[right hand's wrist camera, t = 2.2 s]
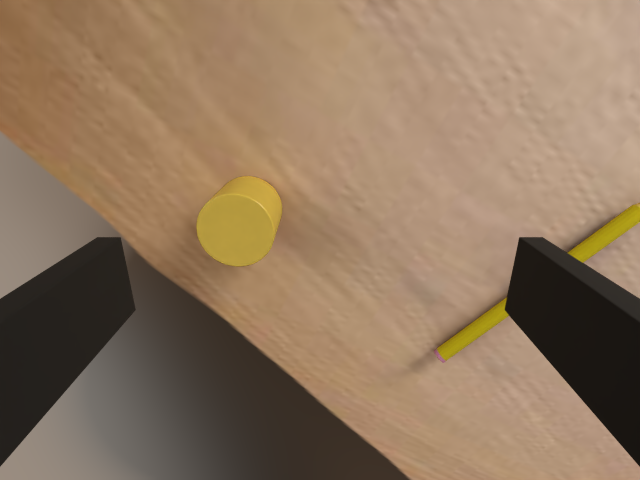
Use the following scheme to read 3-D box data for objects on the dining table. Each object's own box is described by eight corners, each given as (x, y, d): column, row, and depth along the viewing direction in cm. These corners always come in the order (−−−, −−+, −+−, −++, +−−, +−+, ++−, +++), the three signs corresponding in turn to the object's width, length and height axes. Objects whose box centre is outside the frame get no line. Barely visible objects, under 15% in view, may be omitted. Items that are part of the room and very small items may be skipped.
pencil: (441, 355, 27) (445, 365, 26) (432, 347, 26) (436, 357, 25) (660, 197, 22) (675, 201, 21) (652, 185, 22) (667, 189, 21)
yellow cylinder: (240, 248, 24) (225, 279, 20) (204, 196, 22) (179, 217, 19) (294, 220, 23) (289, 245, 19) (259, 163, 22) (246, 179, 18)
